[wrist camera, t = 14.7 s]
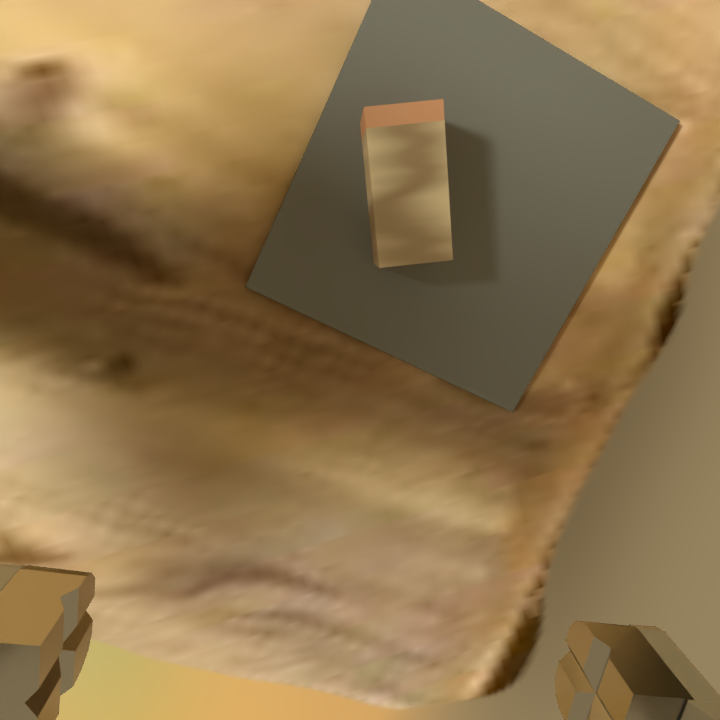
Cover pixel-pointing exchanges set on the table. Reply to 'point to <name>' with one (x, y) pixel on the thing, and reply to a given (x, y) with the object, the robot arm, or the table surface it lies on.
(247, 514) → the table surface
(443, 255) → the maple block
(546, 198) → the rubber mat
